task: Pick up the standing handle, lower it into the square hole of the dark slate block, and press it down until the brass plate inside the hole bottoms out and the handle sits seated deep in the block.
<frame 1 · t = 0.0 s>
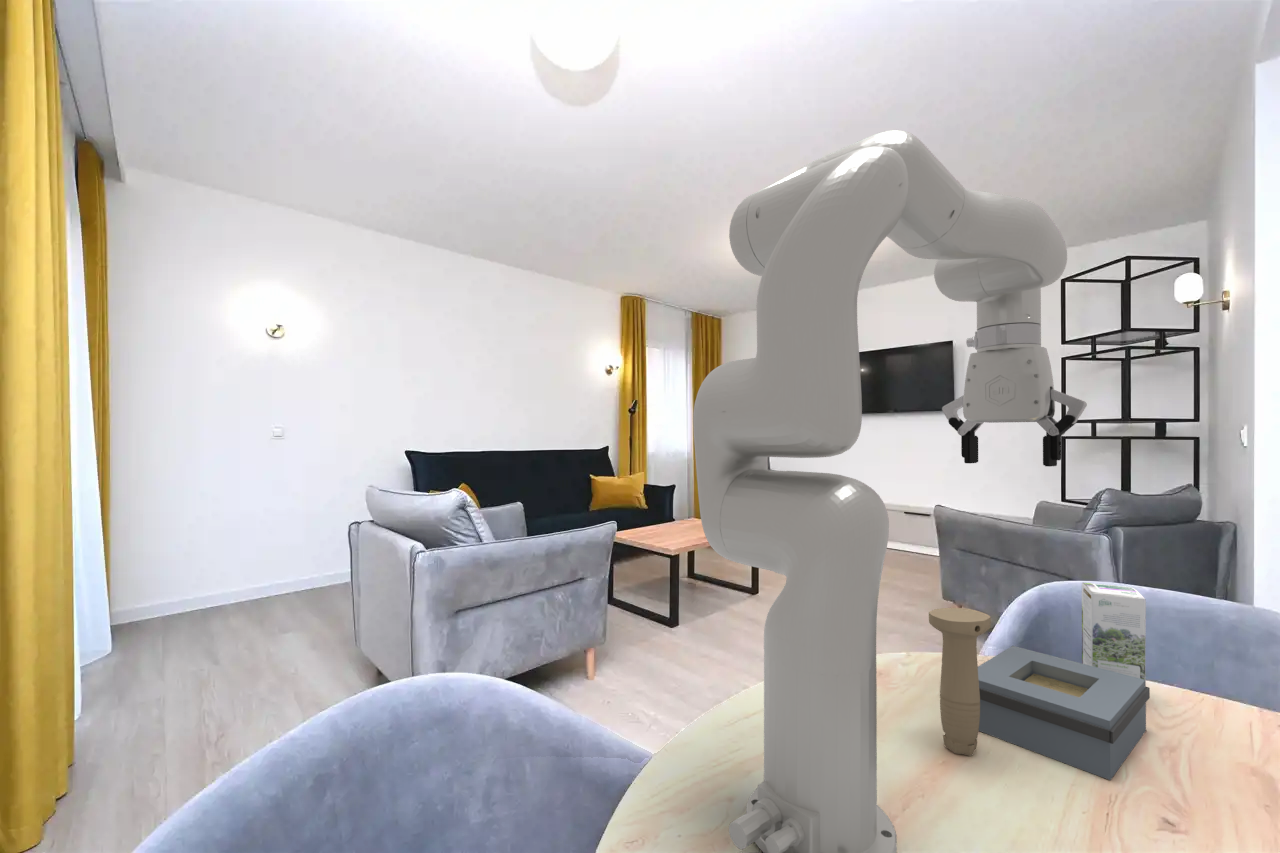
hand: (1008, 464, 79), 31 cm above the table, tool pointing down, fingers open, 9 cm apart
collar block: (1054, 727, 68), on the table
syrup box: (1112, 695, 77), on the table
handle: (959, 750, 64), on the table
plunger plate: (1054, 694, 68), point 4 cm above the table, slide at 0.0 cm
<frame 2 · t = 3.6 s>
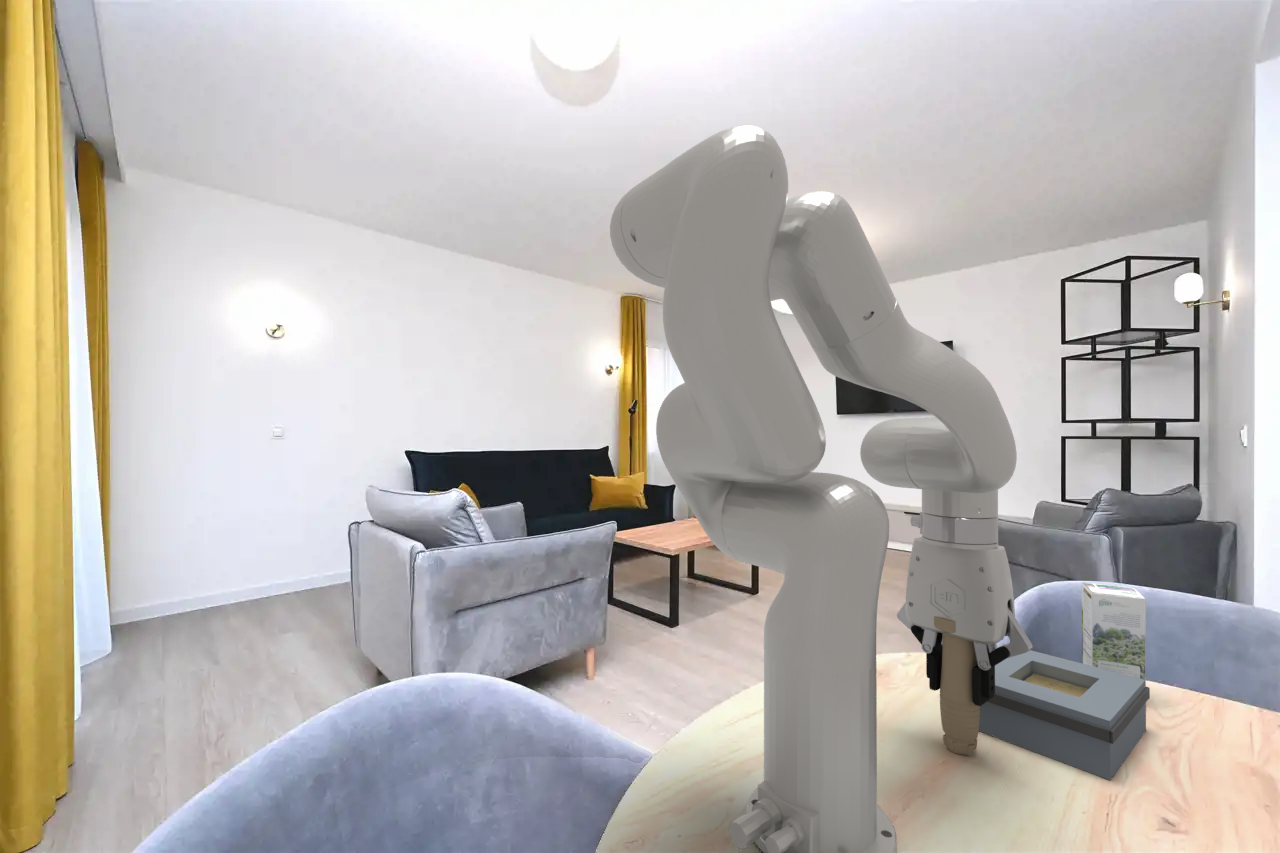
hand: (959, 692, 64), 6 cm above the table, tool pointing down, fingers closed on handle, 3 cm apart
handle: (959, 750, 64), on the table, touching gripper
everything else where it was.
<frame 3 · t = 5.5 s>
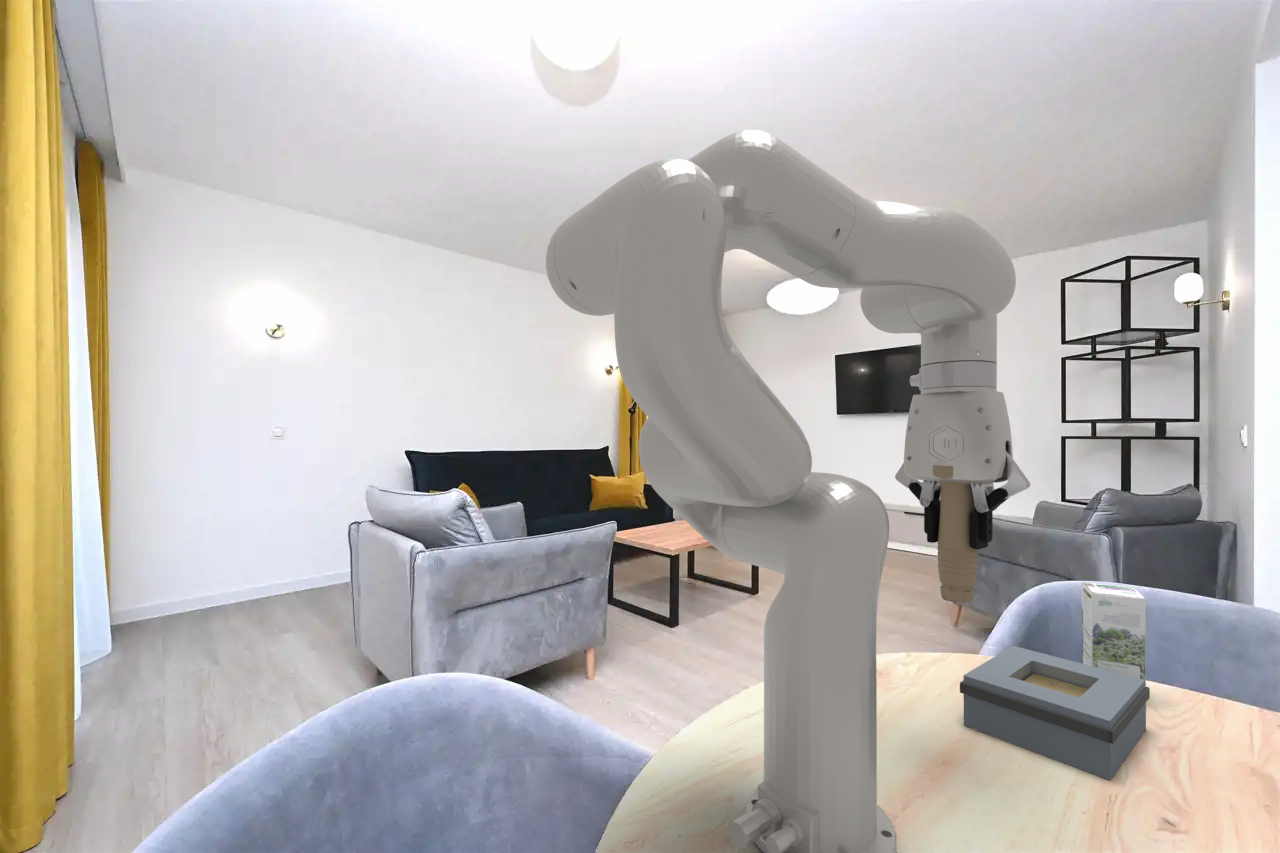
hand: (957, 542, 64), 23 cm above the table, tool pointing down, fingers closed on handle, 3 cm apart
handle: (957, 601, 64), point 17 cm above the table, touching gripper
everything else where it was.
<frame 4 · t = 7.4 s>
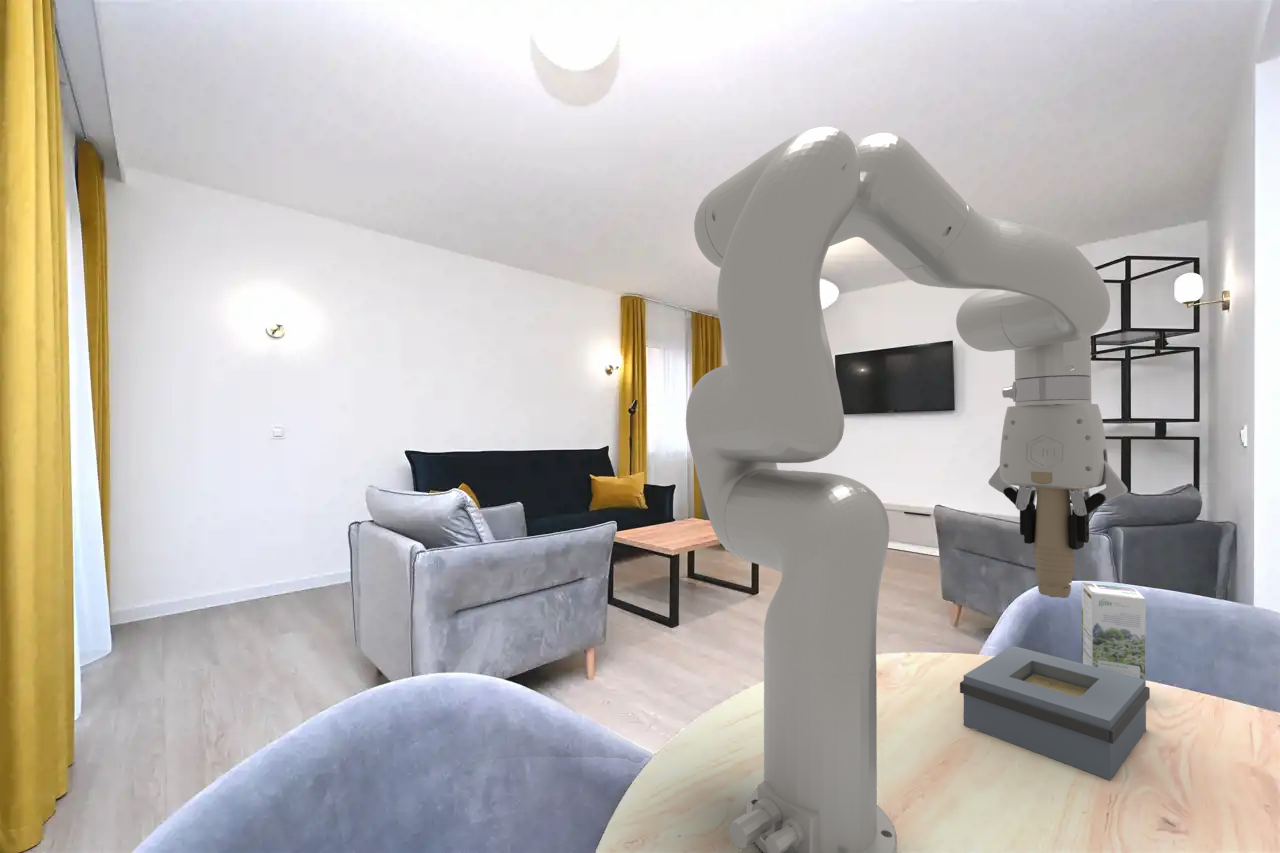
hand: (1053, 543, 69), 22 cm above the table, tool pointing down, fingers closed on handle, 3 cm apart
handle: (1054, 596, 69), point 16 cm above the table, touching gripper
everything else where it was.
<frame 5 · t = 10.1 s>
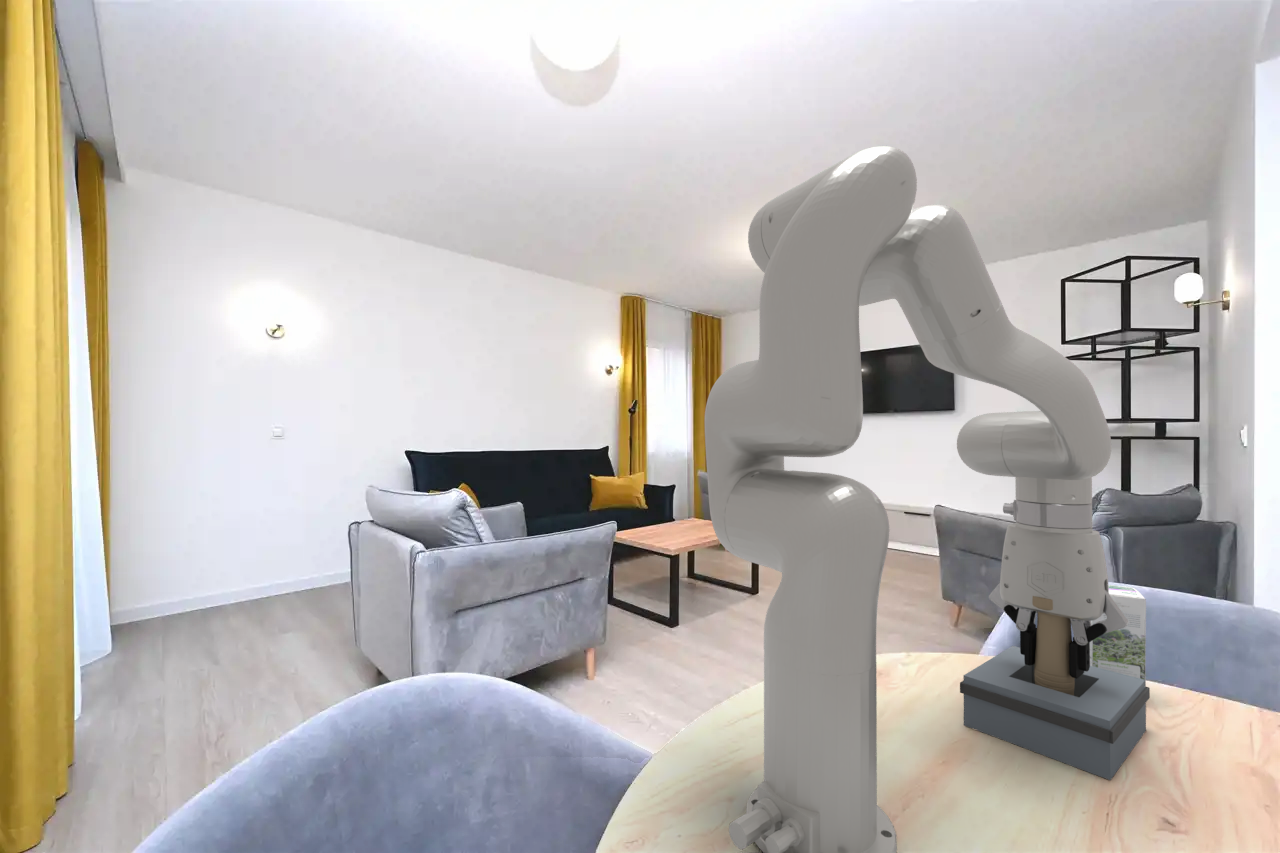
hand: (1054, 667, 68), 7 cm above the table, tool pointing down, fingers closed on handle, 3 cm apart
handle: (1054, 721, 68), point 1 cm above the table, touching gripper, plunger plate
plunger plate: (1054, 723, 68), resting in collar block, slide at -3.5 cm, touching handle
everything else where it was.
when the fingers open (7 cm above the table, at t = 11.1 s): handle stays where it is, resting on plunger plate.
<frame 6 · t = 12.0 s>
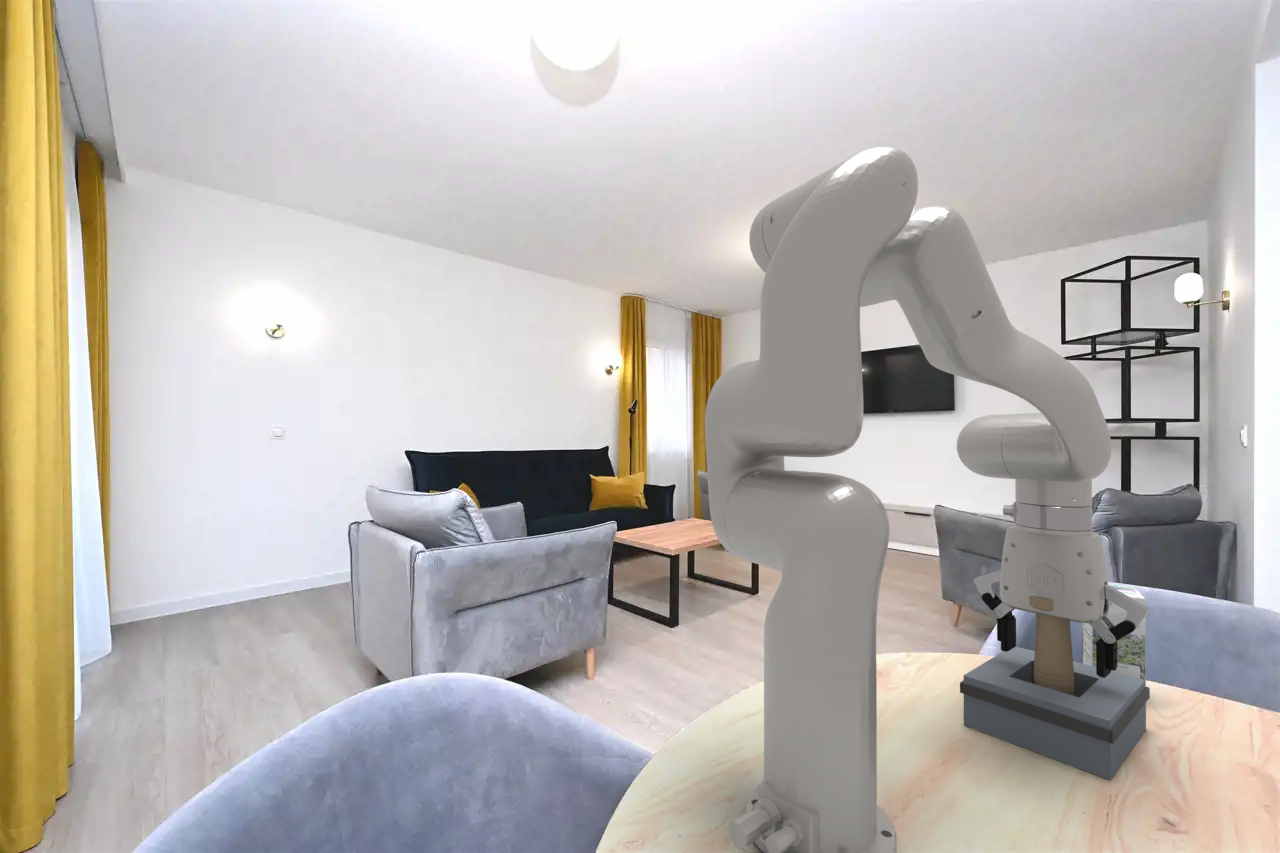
hand: (1053, 660, 68), 8 cm above the table, tool pointing down, fingers open, 9 cm apart
handle: (1054, 720, 68), point 1 cm above the table, touching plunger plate
everything else where it was.
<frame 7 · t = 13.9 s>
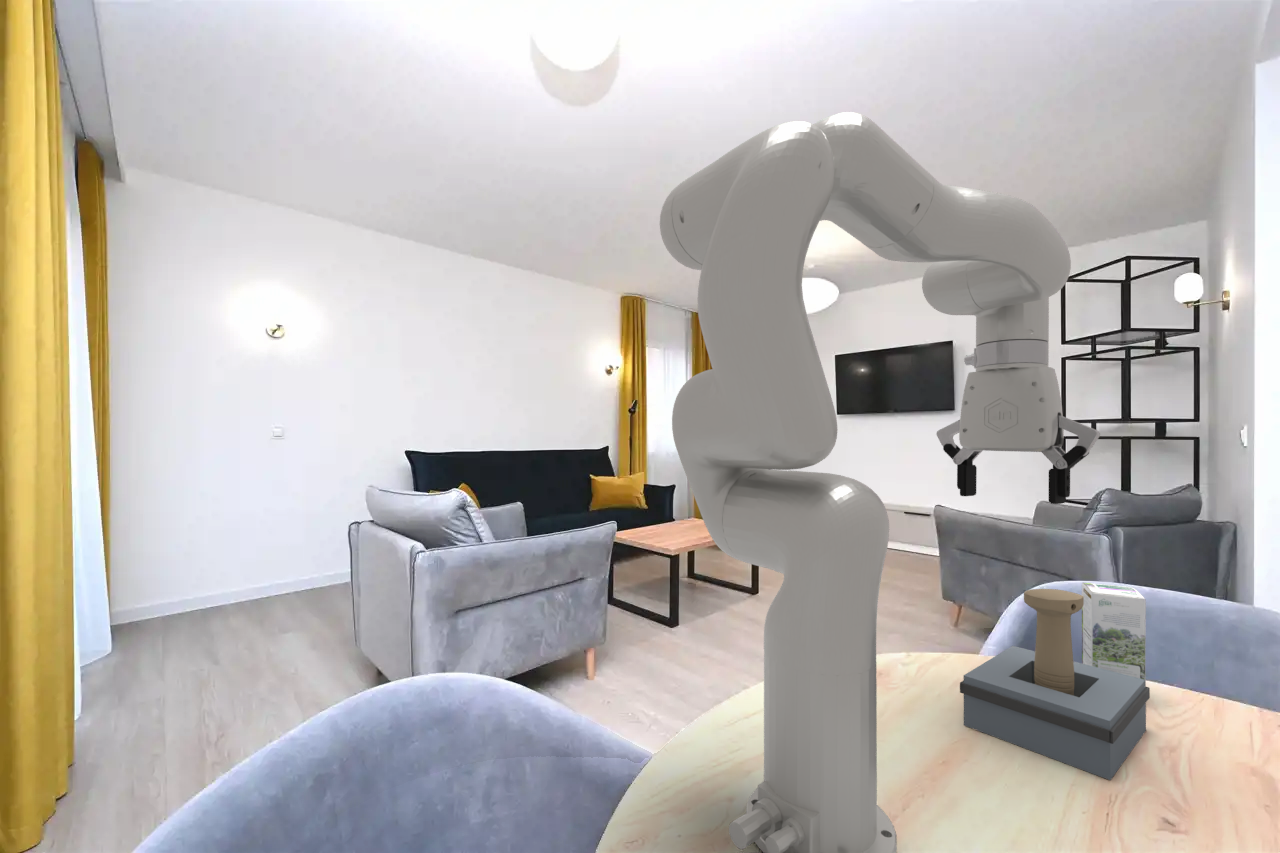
hand: (1010, 499, 69), 27 cm above the table, tool pointing down, fingers open, 9 cm apart
nothing on the table moved.
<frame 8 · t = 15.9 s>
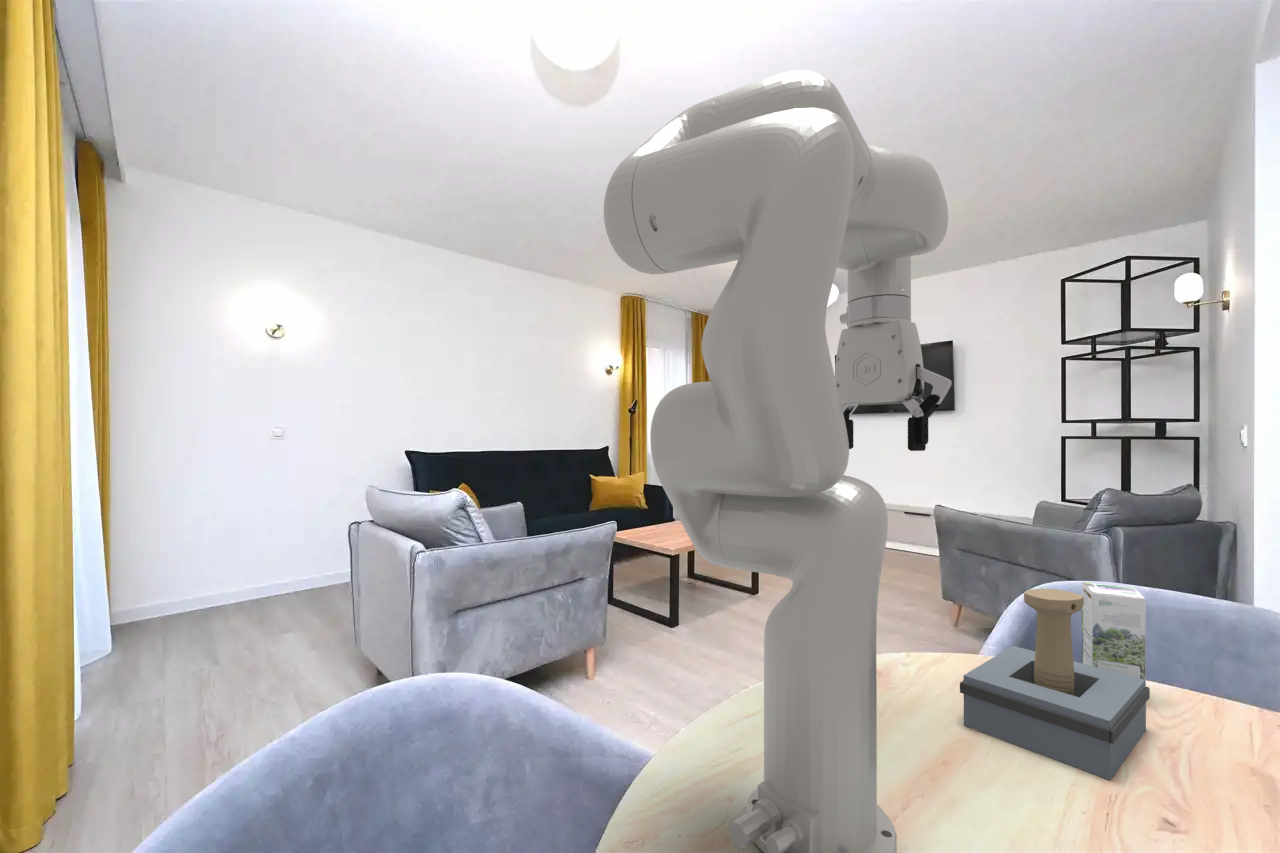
hand: (878, 449, 73), 33 cm above the table, tool pointing down, fingers open, 9 cm apart
nothing on the table moved.
at the end: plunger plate slide at -3.5 cm; handle 0.1 cm off-centre on the collar block, point 0.8 cm above the collar block's base; handle tilted 0° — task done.
